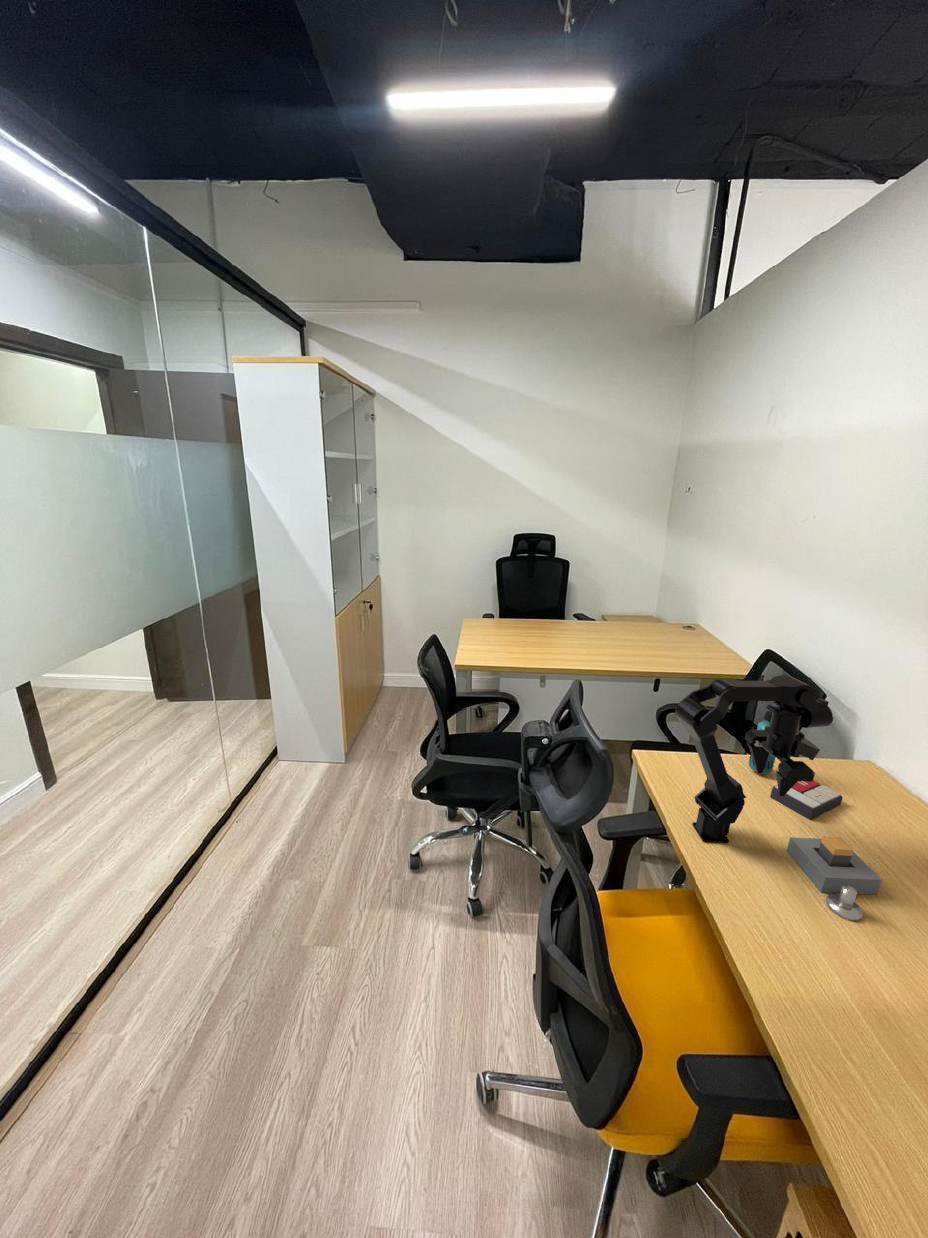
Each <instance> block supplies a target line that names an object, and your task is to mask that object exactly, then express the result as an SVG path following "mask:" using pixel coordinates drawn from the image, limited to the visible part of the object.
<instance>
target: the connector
mask: <svg viewBox="0 0 928 1238" xmlns="http://www.w3.org/2000/svg"><path fill="white" fill-rule="evenodd" d="M821 839H822V840H821V844H820V847H819V851H818V854H819V855H820V856H821V857H822V858H823V859H824V861H825V862H826V863H827V864H828V865H829V866H830V867H848V866H849V863H850V860H851V857H852V854H853V852H854V849H853V848H852V847H851V846H850V844H848V842H846V840H845V839H843V837H841V836H832V835H831V836H829V835H827V836H826V835H822V837H821Z"/></svg>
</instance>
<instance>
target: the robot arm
mask: <svg viewBox="0 0 928 1238" xmlns="http://www.w3.org/2000/svg"><path fill="white" fill-rule="evenodd" d="M812 687H813V686H811V685H810V684H807V683H806V682H804V681H801V680H799V679H797V678H795V677H793V676H791V675H788V674H782V675H776V676H773V677H772V678H770V679H767V680H727V679H726V680H724V679H719V678H718V679H714V680H713V681H712V682H711V683H710V684H708V685H707V686H703V687H700V688H699V689H695V690H692V691H691V692H690V693H689V694H688V695H687V696H685V697H684V698H683V699H682V700H681V701H679V703H678V704H677V706H676V707H675V708H674V711H675V712H674V713H675V716H676V717H677V719H678V720H679V723H680V724H681V725H682V726H683V728H684V729H685V730H686V731H687V732H688V734H689V735H690V736H691V738H692V741H693V744H694V746H695V749H696V752H697V755H698V757H699V760H700V763H701V765H702V768H703V771H704V774H705V776H706V780H705V782H704V787H703V789H701V790H700V792H698V793H697V794H696V795H695V796H694V801H695V802H694V803H695V804H697V805H698V806H699V807H698V811H697V816H696V821H694V822H692V825H691V826H692V827H693V828H694V830H695V831H696V833H697V835H698V837H699V838H700V840H701V841H702V842H703V843H721V844H728V843H730V839H729V838H728V836H729V831H730V828H731V827H730V826H731V824H735V823H736V822H737V820H738V818H739V816H740V814H741V813H742V811H743V809H744V806H745V803H746V801H745V799H747V796H746V795H745V793H744V788H743V786H742V784H741V783H739V782H738V781H737V780H736V779H735V778H733V777H732V775H730V774H729V773H728V771H727V769H726V766H725V762H724V760H723V757H722V755H721V752H720V748H719V746H718V743H717V741H716V738H715V734H716V732H717V730H718V723H719V722H721V721H722V720H723V719H724V718H725V717H726V715H727V711H728V709H729V707H730V706H731V704H733V703H734V702H771V703H768V704H767V705H766V707H765V708H766V709H767V711H771V712H773V713H772V718H771V722H770V726H765V729H764V730H757V729H749V730H748V731H746V732H745V735H744V740H745V741H746V744H747V746H748V748H749V752H750V754H752V757H753V760H754V763H755V767H756V770H757V772H756V773H757V774H763V770H764V768H765V765H766V762H767V759H768V756H769V754H771V755H772V756H775V757H776V758H775V759H776V760H778V761H779V763H778V765H777V770H778V771H776V783H777V784H776V785H778V793H779V795H780V796H785V794H786V793H787V792H788V791H789V790H790V789H791V788H792V787H793V786H794V785H795V784H796V783H797V782H799V781H810V782H813V780H814V779H815V776H816V772H815V770H813V769H812V768H811V767H810V766H809V765H807V764H806V763H805V762H804V761H803V760H793V759H792V758H791V757H793V758H800V756H802V757H805V758H807V759H808V760H811V761H814V759H815V758H816V757H817V756H818V754H819V752H820V751H821V749H820V748H819V747H818V746H816V745H815V744H814V743H812V742H811V741H810V740H809V739H807V738H805V733H803V732H802V731H801V730H799V729H800V727H801V728H803V729H808V728H811V729H812V728H822V727H829V726H831V724H832V723H833V721H834V716H833V711H832V710H831V708H830V706H828V705H829V701H828V700H827V699H824V698H821V697H820V698H819V697H817V698H816V697H815V695H814V690H813V688H812ZM714 698H718V699H717V700H716V703H715V705H714V707H713V708H711V709H710V708H708V707H706V706H705V705H704V704H703V702H705V701H708V700H711V699H714Z"/></svg>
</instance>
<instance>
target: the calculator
mask: <svg viewBox="0 0 928 1238" xmlns="http://www.w3.org/2000/svg"><path fill="white" fill-rule="evenodd" d="M769 795H770V796H769V798H770V799H772V800H774V801H776V802H777V803H778V804H780V805H782V806H784V807H786V808H788V809H790V811H793V812H795V813H797V814H798V815H800V816H802V817H803V818H806V819H807V820H809V821H814V820H815V819H818V818H820V816H822V815H824V814H826V813H828V812H830V811H832V810H834V809H836V808H837V807H840V806H841V803H842V801H843V798H844V797H843V796H842V794H841V793H839V792H838V791H836V790H833V789H831V788H829V787H827V786H826V785H824V784H823V785H821V784H820V783H819V782H817V781H816V780H814V779H813V782H810V781H799V782H797V783H796V784H795V785H794V786H793V787H792V788H791V789H790V790H789V791H788V792H787V793H786V794H785V796H780V795H779V793H778V784H776V785H774V786H772V788H771V791H770V794H769Z"/></svg>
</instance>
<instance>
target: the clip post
mask: <svg viewBox="0 0 928 1238" xmlns="http://www.w3.org/2000/svg"><path fill="white" fill-rule="evenodd" d="M857 895H858V894H857V891H856V889H855V888H853V887H851V886H849V885H843V887H842V890H841V893H828V895H827V896H826V900H825V902H826V903H825V904H826V905H827V907H828V909H830V911H832V912H833V913H834V914H835V915H837V916H838V917H840V918H843V919H845V920H847V921H850V922H860V921H861V920H862V919H863V915H864V912H863V909H862V908H861V907H860V906H859V904H858V903H857V902H856V897H857Z"/></svg>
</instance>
